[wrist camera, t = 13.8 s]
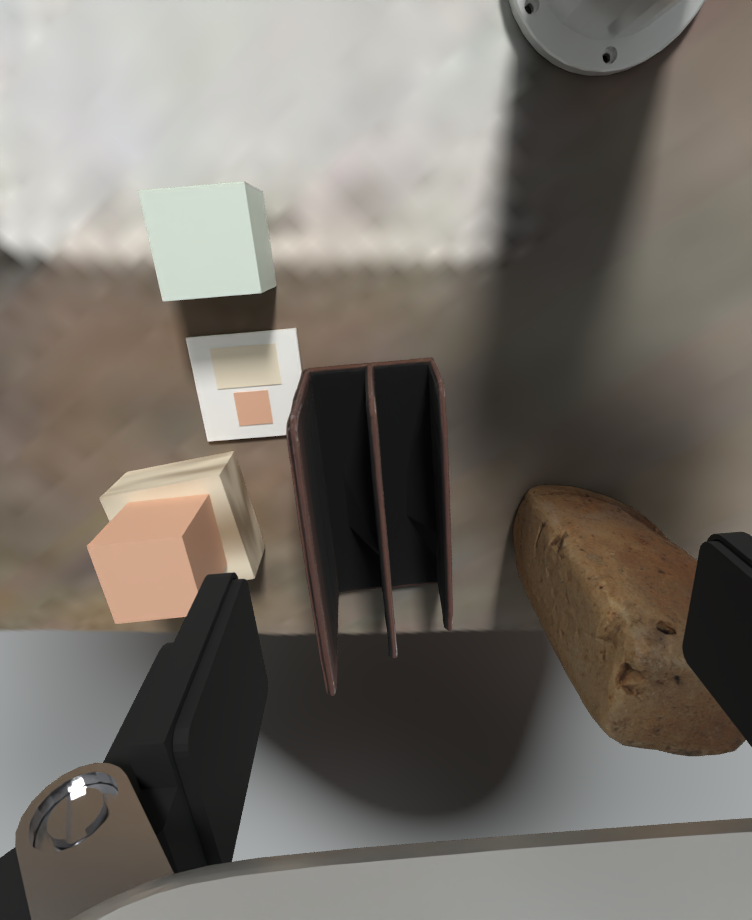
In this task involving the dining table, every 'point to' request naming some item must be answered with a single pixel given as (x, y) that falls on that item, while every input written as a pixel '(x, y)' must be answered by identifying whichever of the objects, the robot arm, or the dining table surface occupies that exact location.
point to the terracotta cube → (157, 557)
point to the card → (245, 382)
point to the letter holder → (370, 488)
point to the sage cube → (209, 240)
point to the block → (618, 618)
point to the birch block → (197, 479)
